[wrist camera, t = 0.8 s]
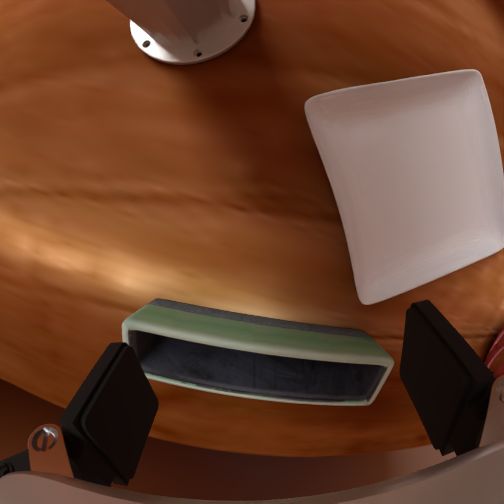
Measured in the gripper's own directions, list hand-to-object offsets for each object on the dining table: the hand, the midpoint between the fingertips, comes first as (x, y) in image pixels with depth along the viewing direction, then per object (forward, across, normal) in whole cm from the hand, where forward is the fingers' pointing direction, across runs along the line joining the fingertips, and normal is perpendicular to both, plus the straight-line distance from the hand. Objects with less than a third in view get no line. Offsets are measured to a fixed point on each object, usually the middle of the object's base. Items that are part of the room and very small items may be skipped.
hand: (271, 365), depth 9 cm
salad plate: (+22, -17, -2) cm, 28 cm away
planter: (+22, +3, +13) cm, 26 cm away
